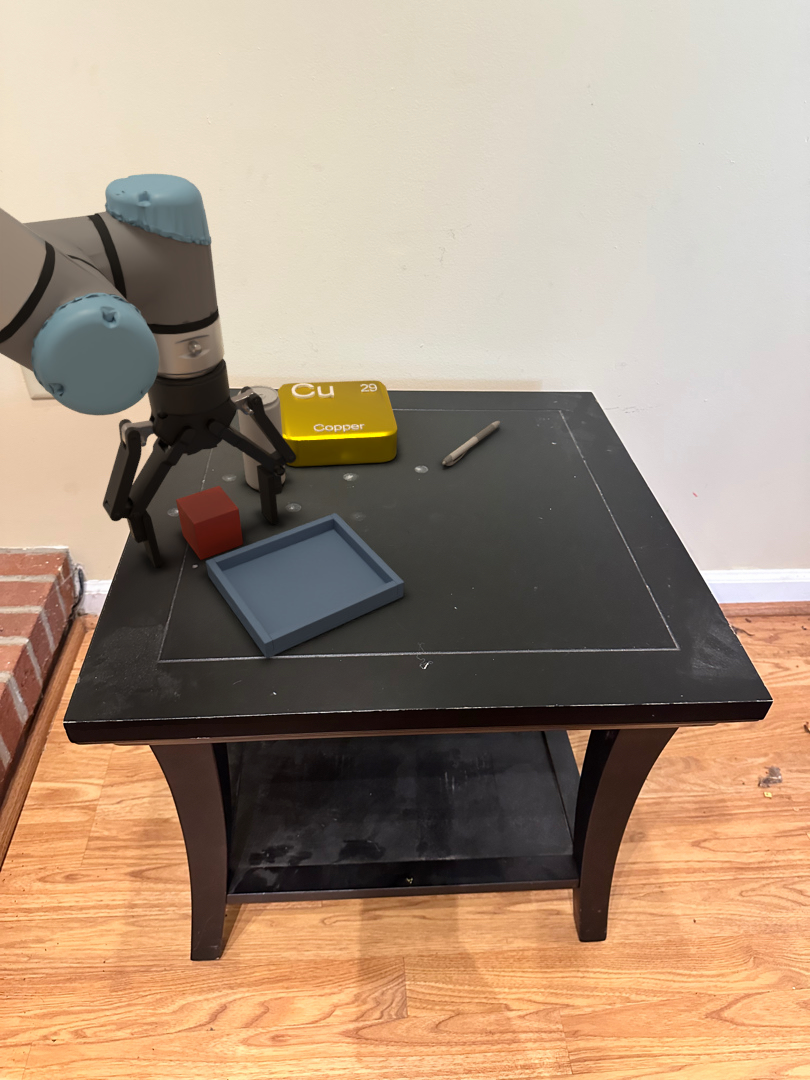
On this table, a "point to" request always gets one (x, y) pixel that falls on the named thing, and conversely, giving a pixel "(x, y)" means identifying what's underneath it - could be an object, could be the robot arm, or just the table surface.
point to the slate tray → (303, 583)
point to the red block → (210, 522)
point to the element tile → (338, 422)
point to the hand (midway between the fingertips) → (214, 538)
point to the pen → (469, 444)
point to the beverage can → (256, 435)
